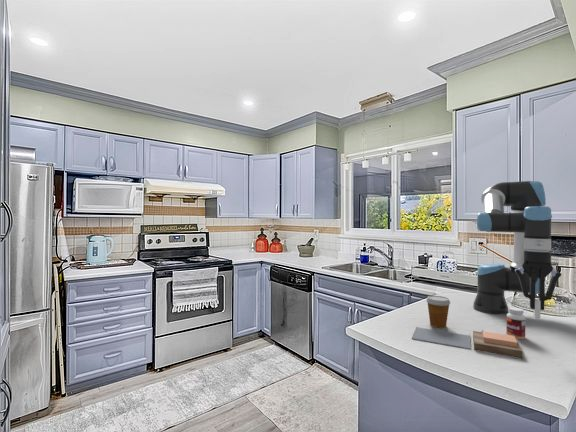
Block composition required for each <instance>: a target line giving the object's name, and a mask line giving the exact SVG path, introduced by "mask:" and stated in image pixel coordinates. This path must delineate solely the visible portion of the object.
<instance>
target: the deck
mask: <svg viewBox="0 0 576 432" xmlns="http://www.w3.org/2000/svg"><path fill="white" fill-rule="evenodd" d="M515 339H516V341H517V347H515V346H509V345H503V344H497V343H491V342H484V341H483V336H482V331H476V330H473V331H472V340H473V350H474V351H478V352H483V353H489V354H495V355H499V356H505V357H510V358H517V359H523V349H522V346H521V345H520V343H519V341H518V340H519V339H517V338H516V337H515Z"/></svg>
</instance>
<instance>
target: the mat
mask: <svg viewBox="0 0 576 432" xmlns="http://www.w3.org/2000/svg"><path fill="white" fill-rule="evenodd" d="M411 336H412V337H411V340H413V341H414V340H416V341H419V342H420V341H422V342H425V343H426V342H427V343H432V344H439V345H444V346H450V347H454V348H455V347H456V348H461V349H466V350H472V346H471V345H472V344H471V341H472V340H471V335H469V334H462V333H455V332H450V331H444V330H443V331H442V330H437V329H431V328H424V327H418V326H416V327H415V329H414V331H413V334H412V335H411Z"/></svg>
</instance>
